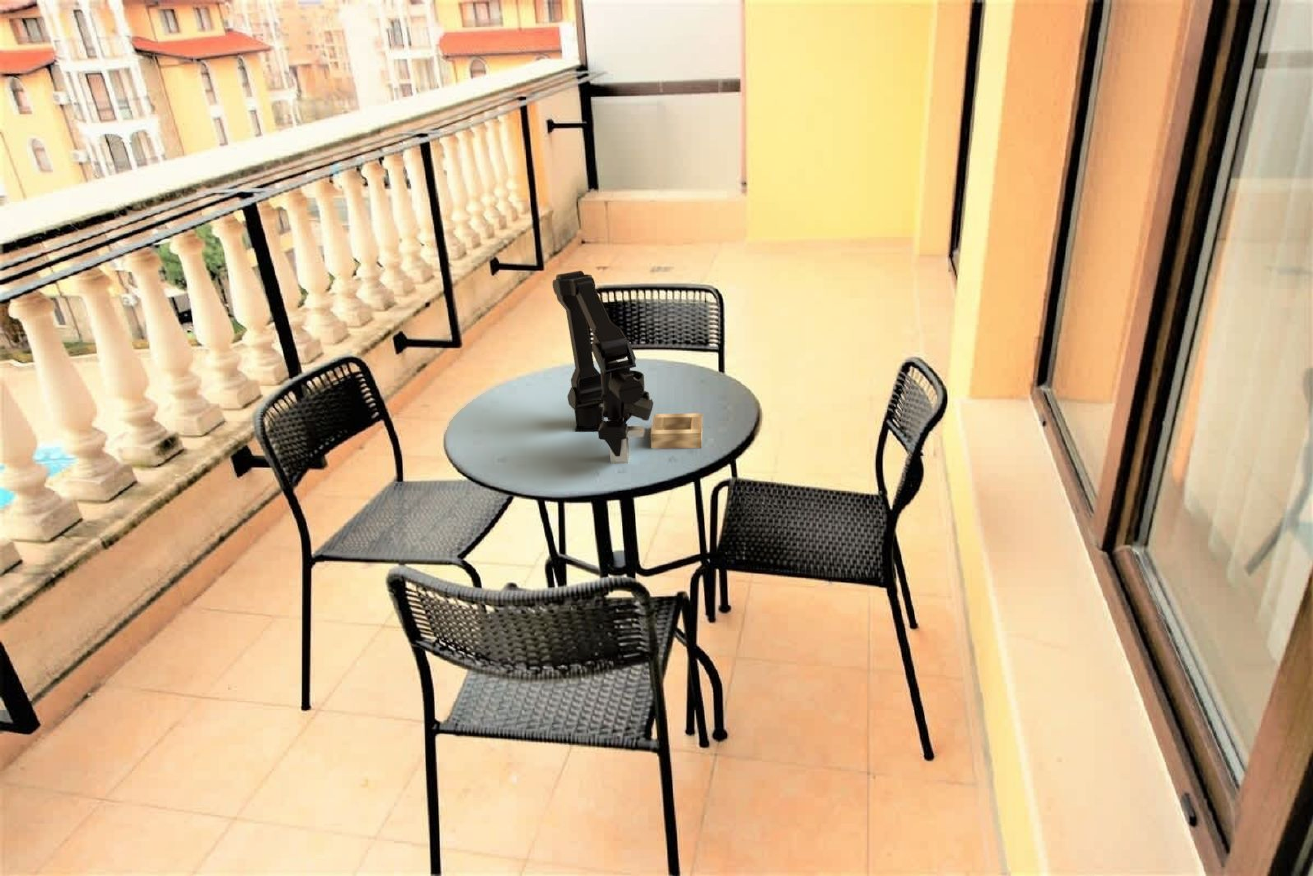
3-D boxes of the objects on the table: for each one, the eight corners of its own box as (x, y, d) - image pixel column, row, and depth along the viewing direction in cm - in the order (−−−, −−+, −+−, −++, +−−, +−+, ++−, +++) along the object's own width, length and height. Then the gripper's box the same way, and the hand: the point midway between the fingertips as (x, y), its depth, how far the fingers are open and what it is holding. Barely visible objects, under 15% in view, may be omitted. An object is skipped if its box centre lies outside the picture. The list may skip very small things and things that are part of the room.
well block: (651, 448, 202) (650, 433, 200) (654, 428, 212) (654, 414, 210) (701, 448, 201) (700, 433, 199) (702, 427, 211) (702, 413, 209)
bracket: (610, 463, 197) (608, 432, 193) (612, 455, 200) (610, 424, 196) (644, 462, 196) (642, 432, 192) (646, 454, 199) (644, 424, 196)
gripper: (646, 404, 181) (650, 468, 188) (653, 371, 198) (656, 431, 205) (595, 405, 182) (601, 468, 189) (606, 372, 199) (611, 431, 206)
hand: (619, 449), depth 197 cm, fingers open, 6 cm apart
